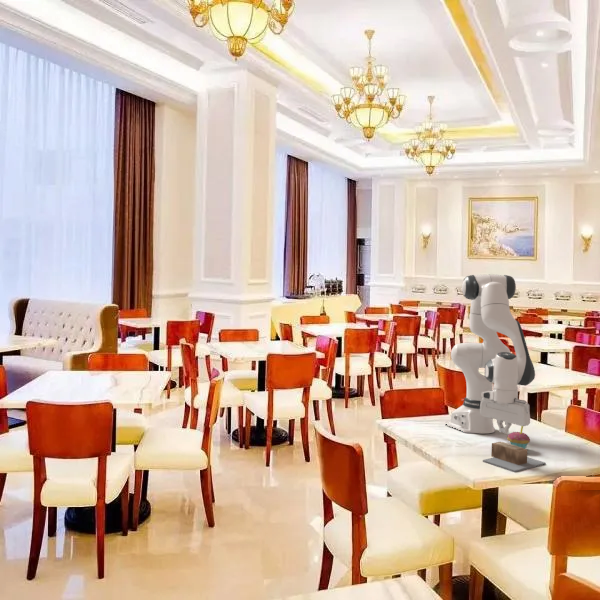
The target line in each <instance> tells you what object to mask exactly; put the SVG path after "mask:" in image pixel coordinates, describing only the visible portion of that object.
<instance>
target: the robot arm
mask: <svg viewBox="0 0 600 600" xmlns="http://www.w3.org/2000/svg"><path fill="white" fill-rule="evenodd" d="M515 280H516V279H514V277H513V276H511V275H506V274H504V275H502V274H501V275H500V274H493V273H491V274H477V275H474V274H471V275H467V276H465V277H464V278H463V281H462V284H461V292H462V294H463V297H464V298H465V299H466V300H471V301H470V307H469V325H468V326H469V327H468V328H469V330H470V332H471V333H472V334H473V335H475V336H477V337H479V338H481V339H482V340H483V341H482V342H462V343H461V342H460V343H456V344H455V345H453V347H452V348H451V351H450V358H451V361H452V363H453V364H454V365H455V366H456V367H458V369H460V370H461V372H462V373H463V375H464V378H465V382H466V383H465V384H466V396H465V397H463V398H461V402H463V403H462V405H460V406H459V407H458V408H456V409H454V410H453V411H452V412H451V414H450V418H449V420H448V421H445V423H444V425H445V424H447V425H449V426H451V427H450V428H452V427H453V429H454V428H456V429H455V430H457V429H458V430H457V431H459V430H461V431H460V432H462V431H463V433H465V434H466V433H468V434H469V433H470V434H471V433H473V434H485V435H486V434H492V433H495V432H496V430H495V426H494V420H496V423H497V426H498V432H499V433H501V434H502V433H503V434H505V435H507V434H509V431H510V428H511V426H512V424H513V425H517V426H520V427H521V426H523V427H526V426H529V425H530V423H531V414H530V404H529V403H528V402H527V401H526V400H525V399H520V398H518V397H519V395H518V394H519V388H518V387H519V386H525V387H526V386H528V385H530V384H531V383H532V382H533V381H534V380H535V379H536V377H535V376H536V372H535V371H536V370H535V367H534V363H533V360H532V359H531V356H530V353H529V350H528V349H529V348H528V346H527V342H526V339H525V335H524V332H523V329H522V326H521V324H520V322H519V321H518V320H517V319H515V318H514V316H513V315H512V313H511V308H510V302H509V300H511V299H512V298H513V297H514V296H515V294H516V289H517V287H516V285H517V284H516V281H515ZM498 333H499V334H502V335H504V336H506V337H507V338H509V339H510V340H511V342H512V344H513V348H514V352H515V353H513V352H511V350H510V347H508V346H507V345H506V344H504V343H503V342H502V340H501V339H500V336H499V335H498ZM479 369H484V374H482V373H480V370H479ZM503 423H504V424H503ZM447 425H446V426H447ZM504 425H505V426H504ZM449 426H448V427H449Z"/></svg>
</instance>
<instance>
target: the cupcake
mask: <svg viewBox="0 0 600 600" xmlns="http://www.w3.org/2000/svg"><path fill="white" fill-rule="evenodd" d="M523 430H524V426H520V431H512V432H510V433H508V435H507V437H506V438H507V439H506V440H507V441H508V442H509V444H512V445H515V446H518V447H522V448H524V449H527V447H528V444H529V443H530V441H531V439H530V436H528V434H527V433H525V432H523Z"/></svg>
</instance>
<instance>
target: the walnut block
mask: <svg viewBox="0 0 600 600" xmlns="http://www.w3.org/2000/svg"><path fill="white" fill-rule="evenodd" d="M528 451H529V450H528V449H527V448H526V449H524V448H522V447H518V446H515V445H512V444H511V443H508V442H504V441H498V442H497V441H496V442H492V443H491V458H493V457H495V458H498V459H501V460H504V461H507V462H510V463H513V464H516V465H521V464H525V463H527V457H528Z"/></svg>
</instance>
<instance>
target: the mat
mask: <svg viewBox="0 0 600 600" xmlns="http://www.w3.org/2000/svg"><path fill="white" fill-rule="evenodd" d="M482 462H483V463H486V464H489V465H493V466H496V467H498V468H501V469H504V470H506V471H507V470H508V471H509V472H514V473H517V472H521V470H522V471H525V469H526V470H529V469H532V467H533V468H535V467H536V466H537V467H541V466H544V465H543V464H545V465H546V463H547V462H544V461H541V460H539V459H538V460H537V459H535V458H533V457H528V456H527V463H525V464H521V465H516V464H513V463H510V462H507V461H504V460H501V459H498V458H495V457H491V458H485V459H482ZM540 465H541V466H540Z"/></svg>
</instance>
